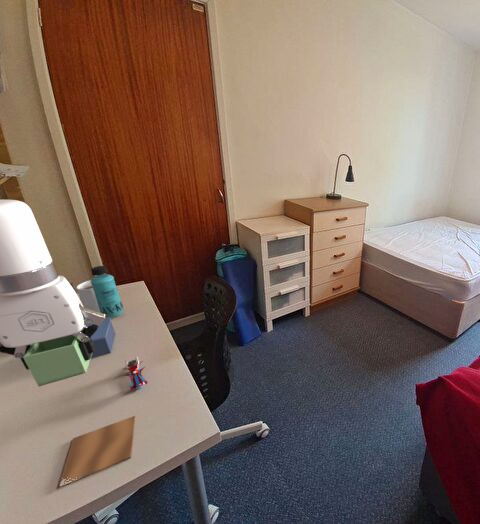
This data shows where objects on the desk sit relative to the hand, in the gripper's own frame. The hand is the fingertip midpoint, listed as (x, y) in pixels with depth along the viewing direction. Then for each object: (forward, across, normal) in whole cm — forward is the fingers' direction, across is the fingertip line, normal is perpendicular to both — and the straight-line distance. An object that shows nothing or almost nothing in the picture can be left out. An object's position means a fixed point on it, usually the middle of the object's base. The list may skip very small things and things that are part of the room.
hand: (64, 361), depth 53 cm
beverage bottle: (+22, -4, +57) cm, 61 cm away
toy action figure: (+22, +6, +17) cm, 28 cm away
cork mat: (+22, 0, -2) cm, 22 cm away
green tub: (+2, 0, 0) cm, 2 cm away
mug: (+22, -8, +67) cm, 71 cm away
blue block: (+22, -8, +39) cm, 45 cm away
